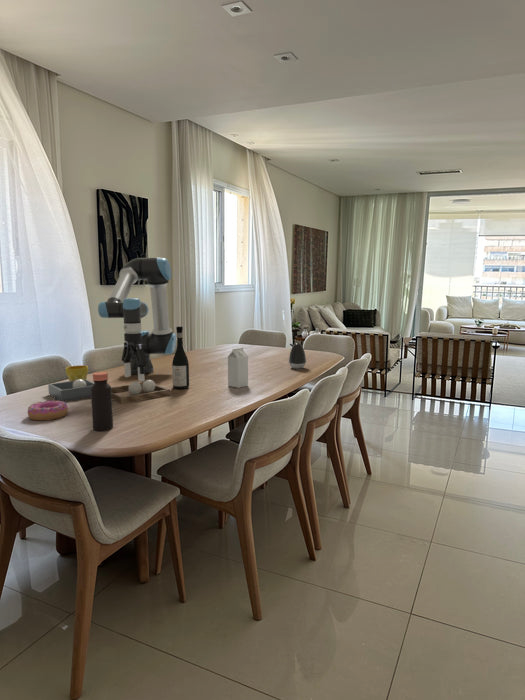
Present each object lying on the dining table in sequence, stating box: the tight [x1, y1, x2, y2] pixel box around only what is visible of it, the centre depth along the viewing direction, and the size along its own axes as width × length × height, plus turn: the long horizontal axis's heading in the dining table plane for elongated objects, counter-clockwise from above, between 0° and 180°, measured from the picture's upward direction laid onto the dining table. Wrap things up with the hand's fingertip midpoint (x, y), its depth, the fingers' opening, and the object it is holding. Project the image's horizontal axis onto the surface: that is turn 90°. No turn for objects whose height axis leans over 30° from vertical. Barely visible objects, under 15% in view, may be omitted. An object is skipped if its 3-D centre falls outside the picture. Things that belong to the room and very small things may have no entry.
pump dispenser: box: [288, 342, 307, 370], centre depth 281 cm, size 10×10×15 cm
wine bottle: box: [171, 326, 190, 390], centre depth 230 cm, size 8×8×30 cm
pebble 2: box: [128, 381, 143, 395], centre depth 217 cm, size 6×6×6 cm
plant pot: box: [65, 364, 89, 381], centre depth 234 cm, size 10×10×10 cm
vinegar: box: [90, 371, 114, 432], centre depth 167 cm, size 7×7×20 cm
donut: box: [27, 399, 69, 422], centre depth 184 cm, size 14×14×5 cm
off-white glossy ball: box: [73, 379, 87, 388], centre depth 218 cm, size 6×6×6 cm
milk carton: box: [227, 347, 249, 389], centre depth 234 cm, size 7×7×19 cm
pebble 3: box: [142, 379, 156, 393], centre depth 222 cm, size 6×6×6 cm
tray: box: [111, 382, 171, 404], centre depth 218 cm, size 24×22×2 cm
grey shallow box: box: [47, 378, 94, 402], centre depth 216 cm, size 17×17×5 cm
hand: (134, 378), depth 216 cm, fingers open, 13 cm apart
